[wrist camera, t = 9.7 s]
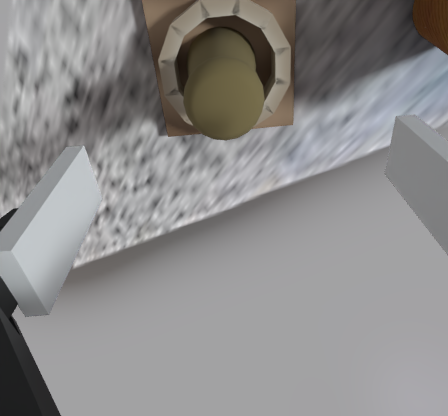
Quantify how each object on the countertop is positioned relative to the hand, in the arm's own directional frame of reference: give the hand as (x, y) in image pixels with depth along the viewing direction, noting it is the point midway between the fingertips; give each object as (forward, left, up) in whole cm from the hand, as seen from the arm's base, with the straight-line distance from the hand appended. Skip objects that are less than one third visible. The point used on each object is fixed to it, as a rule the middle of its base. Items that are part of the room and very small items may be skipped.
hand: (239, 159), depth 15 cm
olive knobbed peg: (0, 0, -18) cm, 18 cm away
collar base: (0, 0, -19) cm, 19 cm away
